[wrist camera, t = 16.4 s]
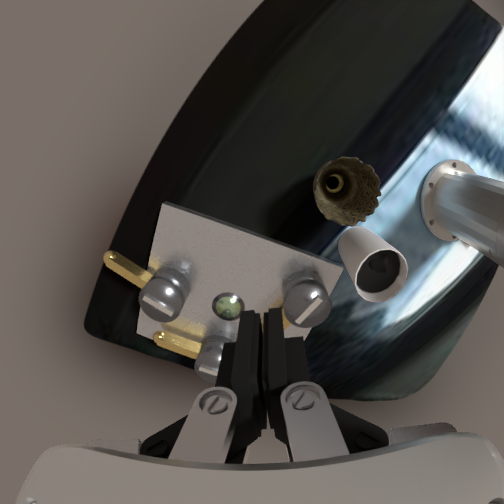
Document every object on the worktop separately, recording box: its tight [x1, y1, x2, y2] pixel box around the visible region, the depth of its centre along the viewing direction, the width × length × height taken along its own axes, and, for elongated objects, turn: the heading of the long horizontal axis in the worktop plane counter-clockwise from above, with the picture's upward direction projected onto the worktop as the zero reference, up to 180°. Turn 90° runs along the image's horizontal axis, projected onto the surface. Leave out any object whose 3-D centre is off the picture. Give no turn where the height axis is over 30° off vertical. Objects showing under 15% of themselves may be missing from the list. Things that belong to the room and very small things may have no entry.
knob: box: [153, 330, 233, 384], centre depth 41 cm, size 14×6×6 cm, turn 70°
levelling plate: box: [137, 201, 344, 343], centre depth 41 cm, size 26×23×2 cm
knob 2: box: [262, 270, 331, 331], centre depth 38 cm, size 14×6×6 cm, turn 143°
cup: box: [313, 157, 381, 227], centre depth 32 cm, size 8×7×8 cm
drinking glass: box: [338, 226, 408, 303], centre depth 34 cm, size 7×7×10 cm
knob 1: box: [104, 251, 190, 323], centre depth 37 cm, size 14×6×6 cm, turn 58°
